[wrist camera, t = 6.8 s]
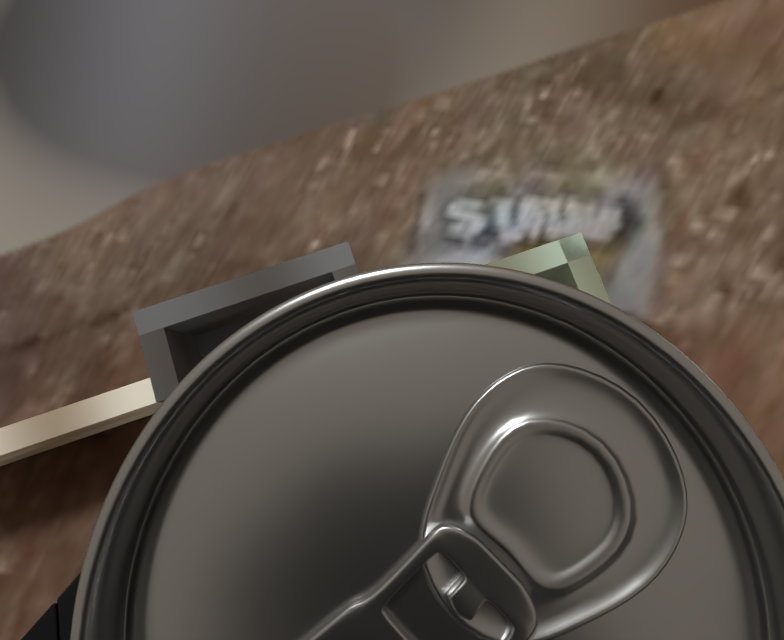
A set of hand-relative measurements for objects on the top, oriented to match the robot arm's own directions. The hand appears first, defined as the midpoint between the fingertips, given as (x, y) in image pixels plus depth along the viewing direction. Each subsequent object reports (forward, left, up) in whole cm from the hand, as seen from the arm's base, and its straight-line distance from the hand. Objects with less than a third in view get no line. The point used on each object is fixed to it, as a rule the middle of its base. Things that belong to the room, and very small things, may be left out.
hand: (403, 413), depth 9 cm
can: (-1, -1, -7) cm, 7 cm away
